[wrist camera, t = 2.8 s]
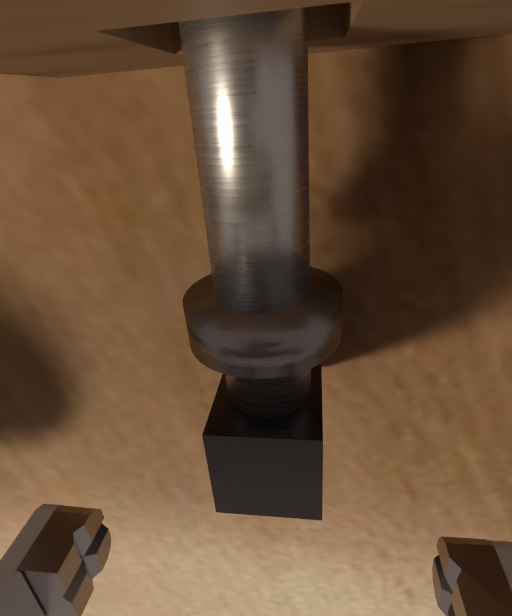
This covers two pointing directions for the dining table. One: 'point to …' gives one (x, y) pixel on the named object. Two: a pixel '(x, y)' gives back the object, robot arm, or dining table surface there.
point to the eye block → (209, 4)
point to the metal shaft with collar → (259, 263)
